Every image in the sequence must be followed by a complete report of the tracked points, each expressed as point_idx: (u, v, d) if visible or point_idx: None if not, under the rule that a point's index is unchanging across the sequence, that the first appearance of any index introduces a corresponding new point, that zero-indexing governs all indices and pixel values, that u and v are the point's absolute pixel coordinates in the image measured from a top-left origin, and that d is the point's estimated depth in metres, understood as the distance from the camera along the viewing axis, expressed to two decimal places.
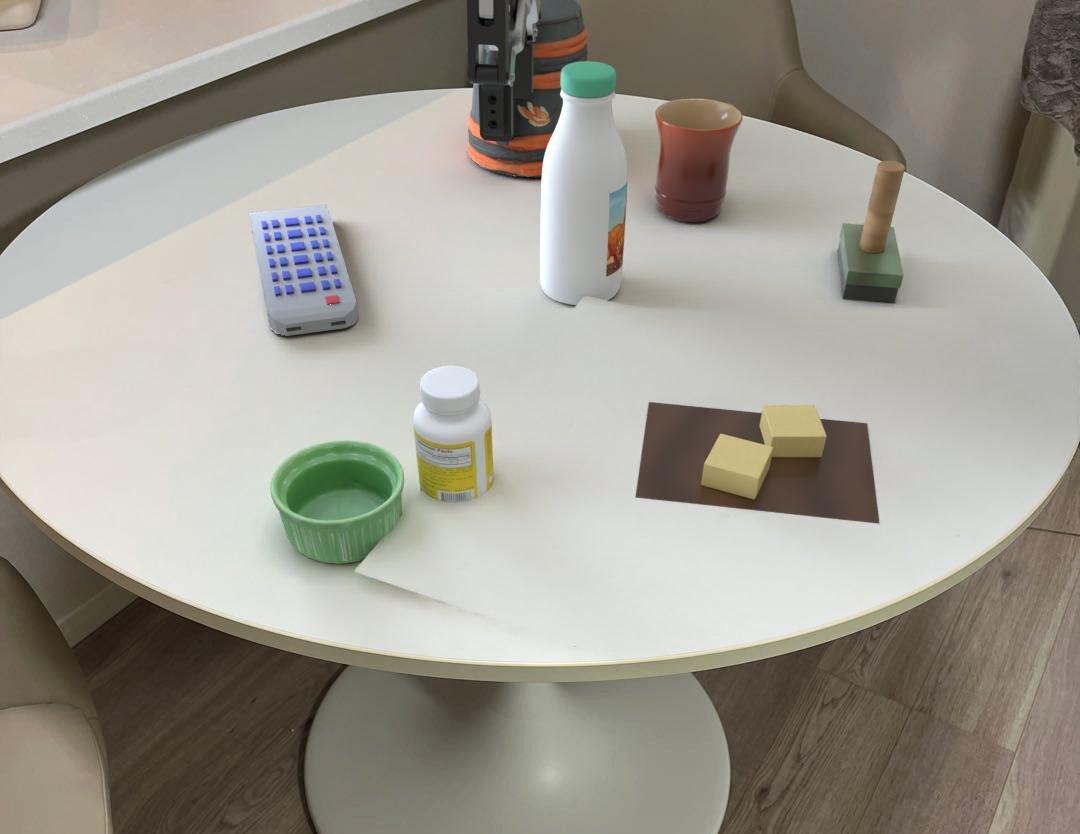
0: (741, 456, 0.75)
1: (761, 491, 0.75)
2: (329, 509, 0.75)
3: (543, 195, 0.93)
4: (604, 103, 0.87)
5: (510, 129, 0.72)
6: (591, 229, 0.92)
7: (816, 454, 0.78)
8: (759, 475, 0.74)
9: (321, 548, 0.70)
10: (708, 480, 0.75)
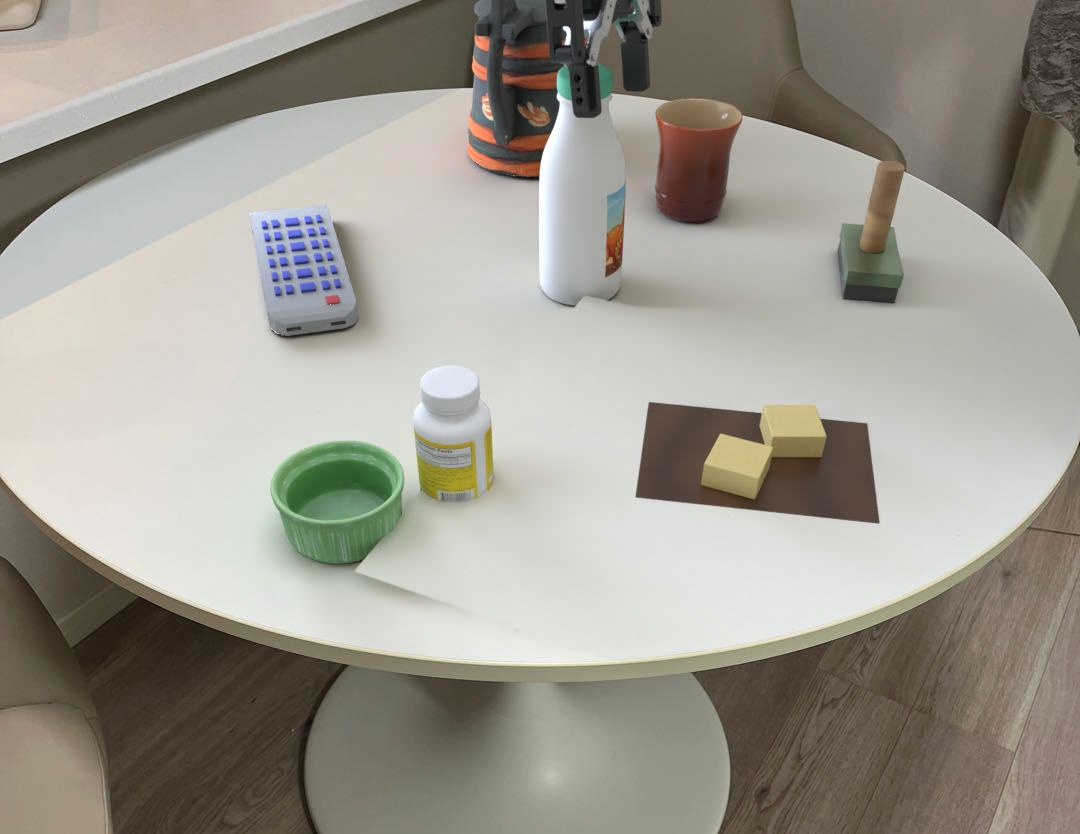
0: (741, 456, 0.75)
1: (761, 491, 0.75)
2: (329, 509, 0.75)
3: (541, 197, 0.93)
4: (601, 106, 0.86)
5: (596, 106, 0.81)
6: (589, 231, 0.92)
7: (816, 454, 0.78)
8: (759, 475, 0.74)
9: (321, 548, 0.70)
10: (708, 480, 0.75)
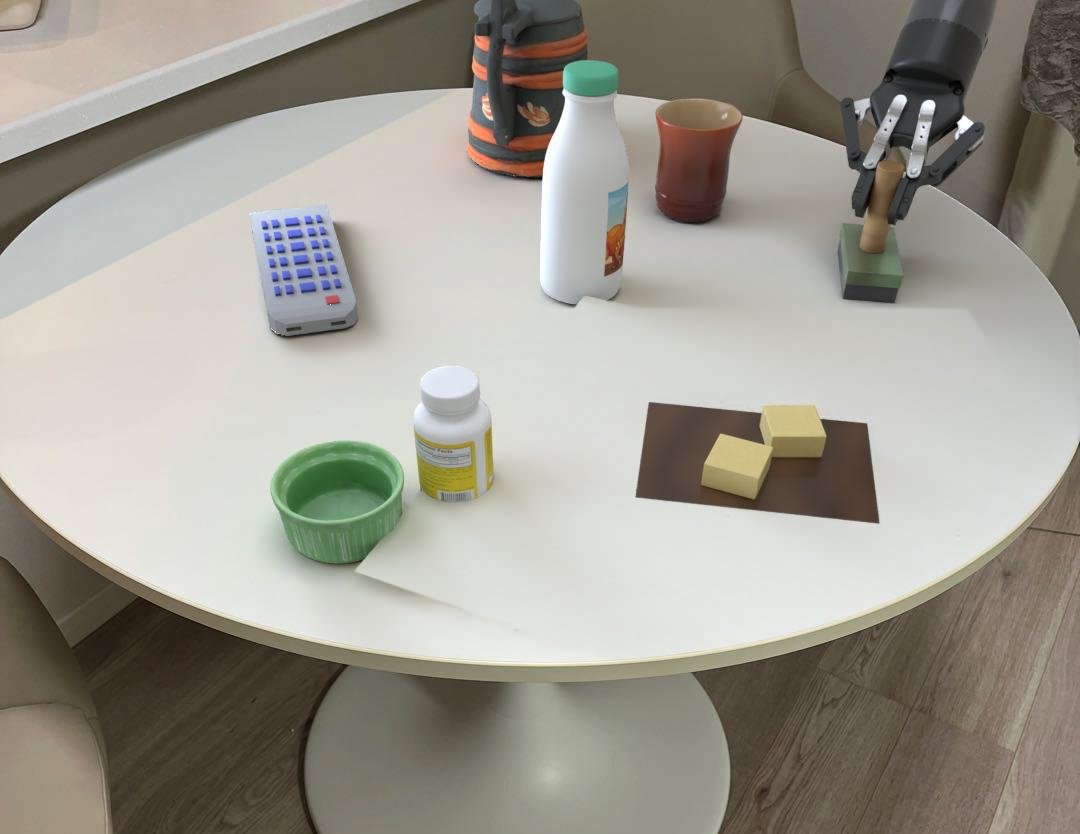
0: (741, 456, 0.75)
1: (761, 491, 0.75)
2: (329, 509, 0.75)
3: (543, 192, 0.93)
4: (605, 102, 0.87)
5: (858, 199, 0.96)
6: (589, 228, 0.92)
7: (816, 454, 0.78)
8: (759, 475, 0.74)
9: (321, 548, 0.70)
10: (708, 480, 0.75)
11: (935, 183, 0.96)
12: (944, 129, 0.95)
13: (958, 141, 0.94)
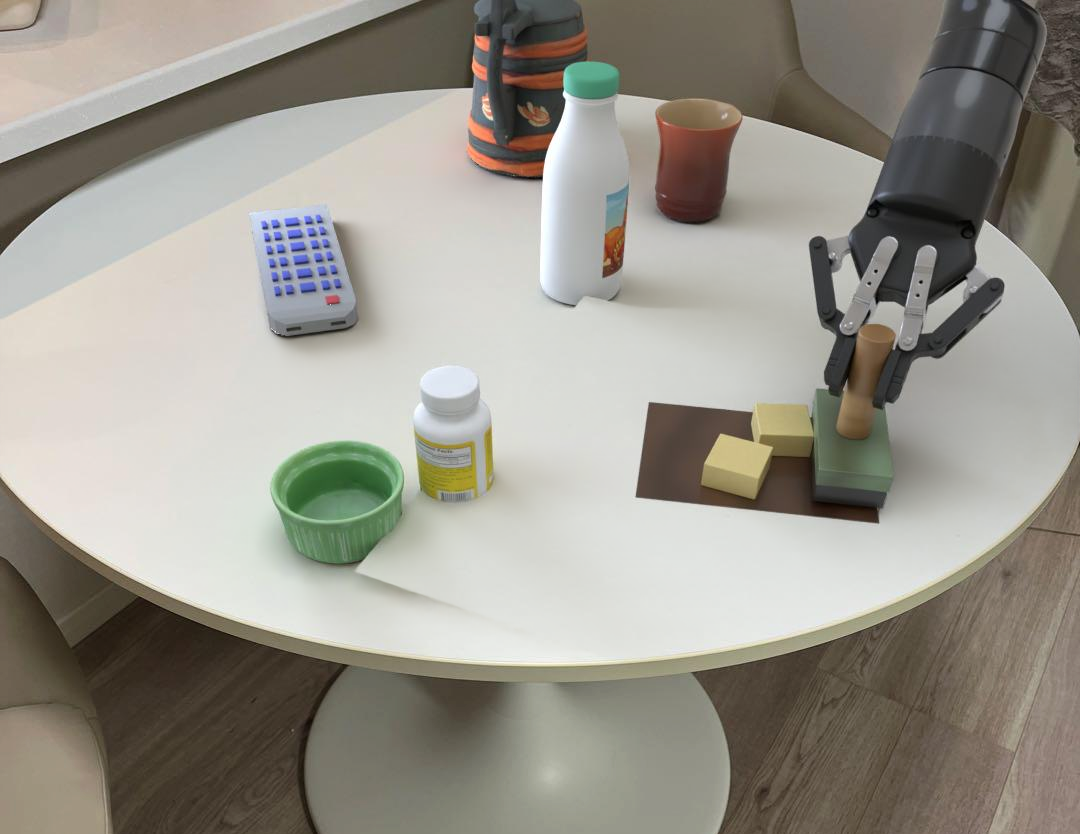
0: (741, 456, 0.75)
1: (761, 491, 0.75)
2: (329, 509, 0.75)
3: (543, 193, 0.93)
4: (604, 104, 0.87)
5: (832, 376, 0.71)
6: (587, 230, 0.92)
7: (804, 454, 0.78)
8: (759, 475, 0.74)
9: (321, 548, 0.70)
10: (708, 480, 0.75)
11: (937, 355, 0.71)
12: (949, 284, 0.69)
13: (968, 303, 0.68)
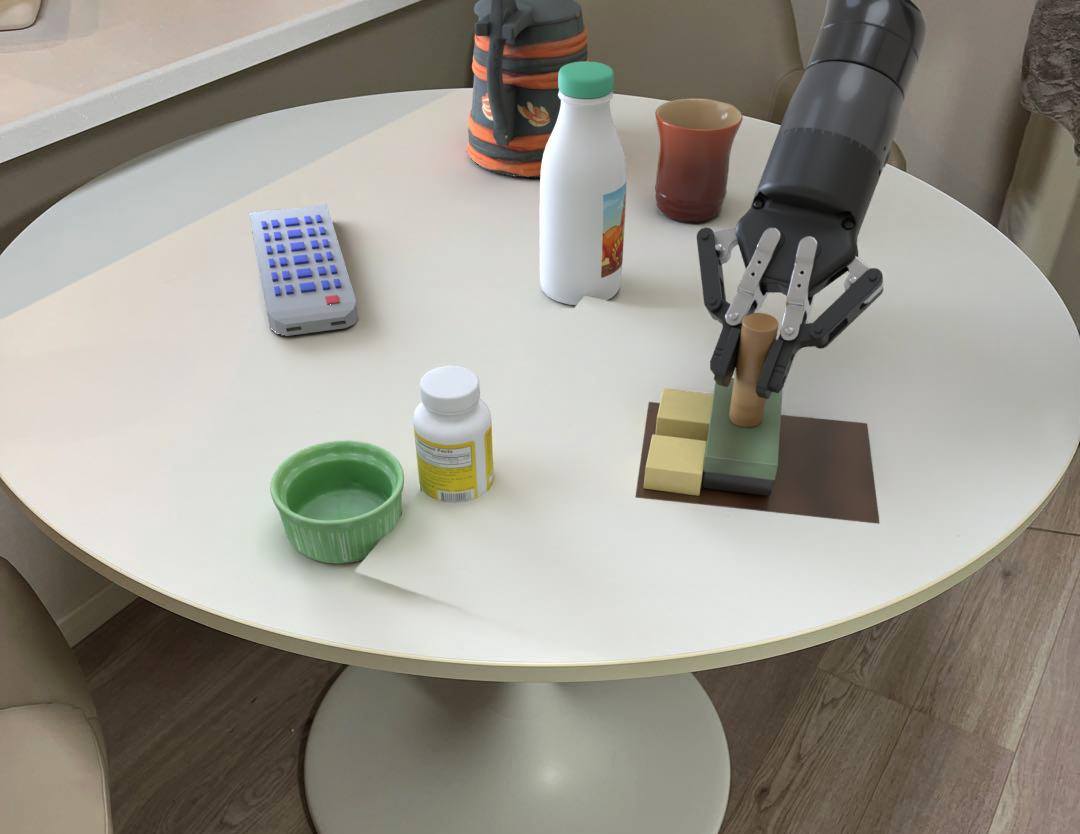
0: (679, 455, 0.75)
1: None
2: (329, 509, 0.75)
3: (540, 193, 0.93)
4: (599, 104, 0.87)
5: (718, 366, 0.72)
6: (584, 230, 0.92)
7: None
8: (701, 471, 0.74)
9: (321, 548, 0.70)
10: (651, 482, 0.75)
11: (820, 345, 0.71)
12: (830, 275, 0.70)
13: (848, 293, 0.69)
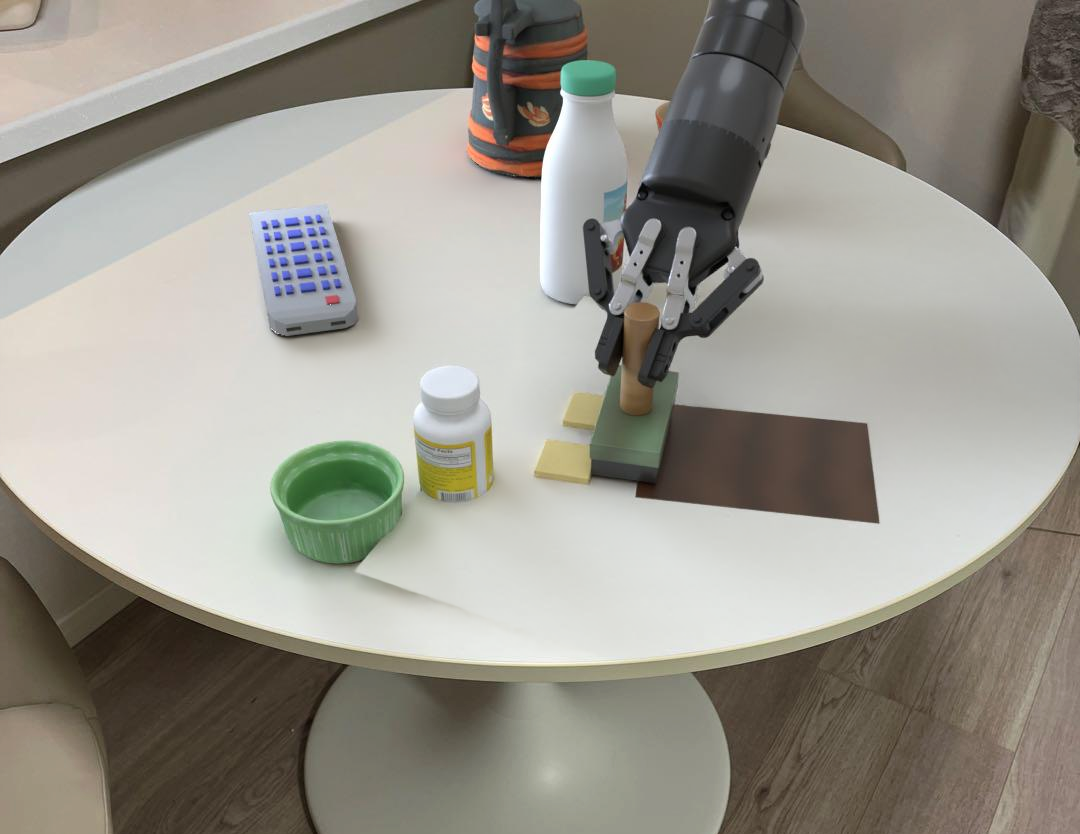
0: (569, 459, 0.77)
1: (761, 491, 0.75)
2: (329, 509, 0.75)
3: (541, 191, 0.93)
4: (601, 102, 0.87)
5: (601, 355, 0.73)
6: None
7: None
8: (588, 475, 0.76)
9: (321, 548, 0.70)
10: None
11: (702, 334, 0.72)
12: (710, 265, 0.71)
13: (726, 283, 0.70)
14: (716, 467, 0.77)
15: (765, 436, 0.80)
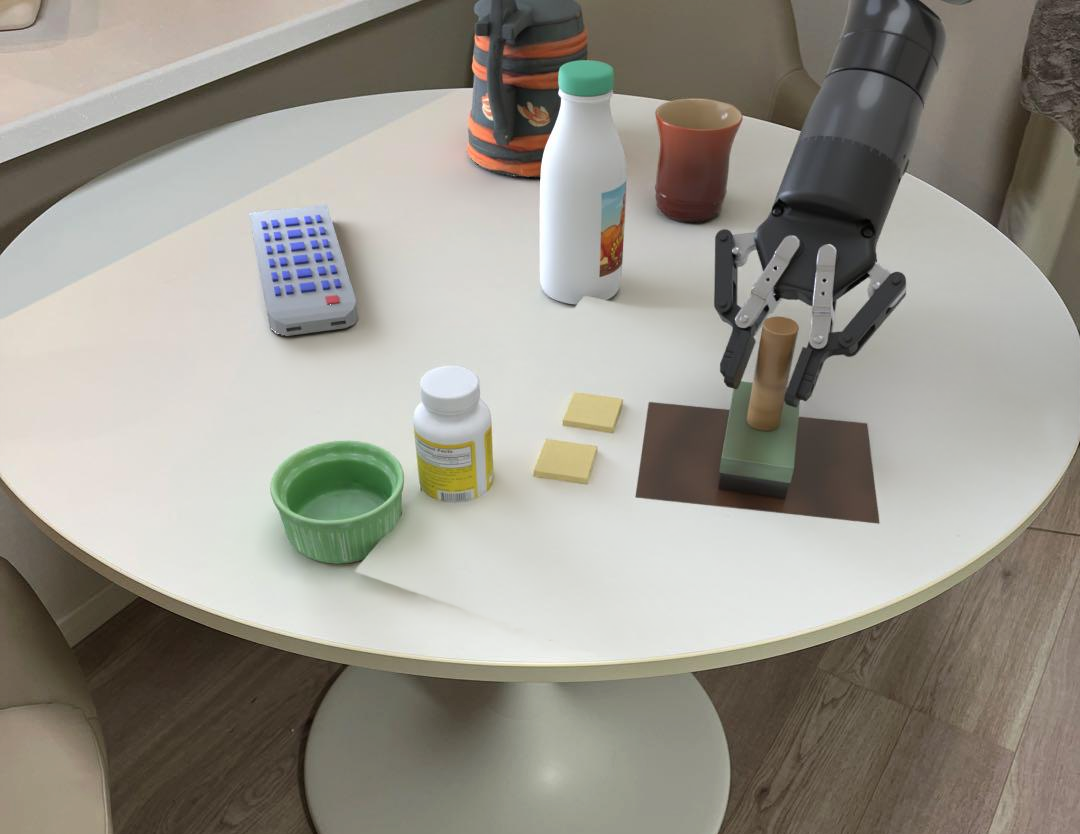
0: (568, 459, 0.77)
1: None
2: (329, 509, 0.75)
3: (540, 191, 0.93)
4: (598, 102, 0.87)
5: (727, 368, 0.72)
6: (583, 228, 0.92)
7: None
8: (587, 475, 0.76)
9: (321, 548, 0.70)
10: None
11: (850, 353, 0.71)
12: (849, 282, 0.71)
13: (873, 299, 0.69)
14: (716, 467, 0.77)
15: None
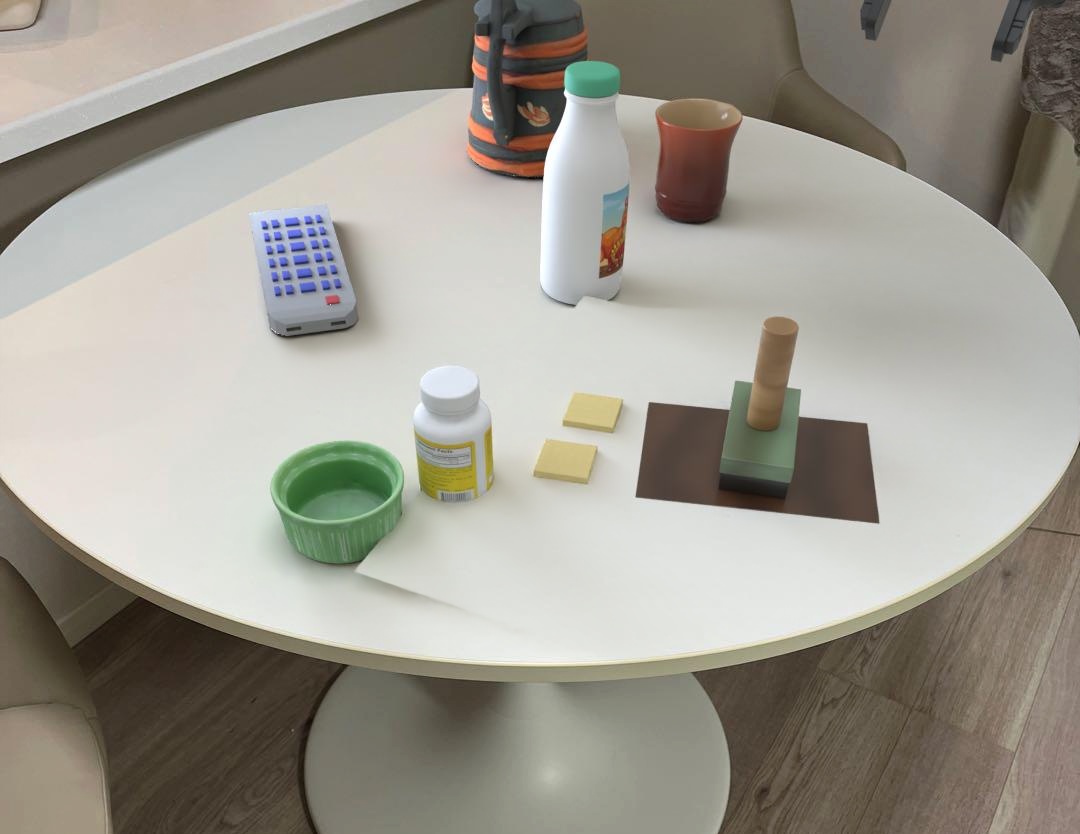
0: (568, 459, 0.77)
1: None
2: (329, 509, 0.75)
3: (543, 190, 0.93)
4: (603, 104, 0.87)
5: (869, 12, 0.72)
6: (583, 229, 0.92)
7: None
8: (587, 475, 0.76)
9: (321, 548, 0.70)
10: None
11: (1062, 0, 0.70)
12: None
13: None
14: (716, 467, 0.77)
15: None
